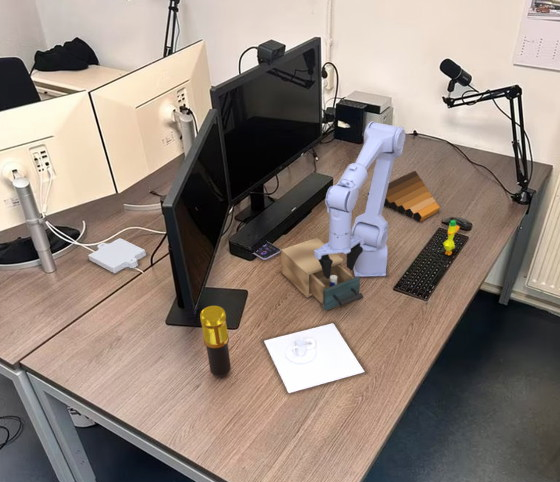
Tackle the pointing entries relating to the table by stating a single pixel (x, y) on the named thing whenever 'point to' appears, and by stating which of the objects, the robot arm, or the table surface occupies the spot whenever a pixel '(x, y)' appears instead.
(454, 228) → the toy figure
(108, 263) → the mounting plate
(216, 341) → the gold capped bottle
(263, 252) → the smartphone
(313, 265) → the cabinet
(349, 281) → the drawer
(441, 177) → the table surface
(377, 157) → the robot arm
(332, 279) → the pen
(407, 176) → the pan flute
